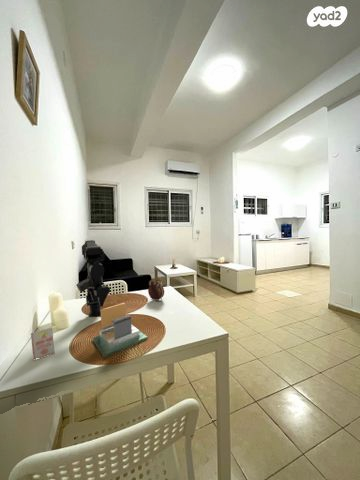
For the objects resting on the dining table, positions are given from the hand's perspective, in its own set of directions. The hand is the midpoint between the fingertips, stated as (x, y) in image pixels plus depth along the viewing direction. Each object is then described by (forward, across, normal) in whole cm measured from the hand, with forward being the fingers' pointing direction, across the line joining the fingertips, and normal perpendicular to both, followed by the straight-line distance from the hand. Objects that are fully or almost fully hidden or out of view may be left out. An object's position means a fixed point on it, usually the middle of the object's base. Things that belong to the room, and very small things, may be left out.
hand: (97, 304), depth 96 cm
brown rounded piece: (+12, -8, +40) cm, 43 cm away
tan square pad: (+7, +13, +2) cm, 15 cm away
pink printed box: (+12, +6, -24) cm, 27 cm away
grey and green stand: (+12, +18, +2) cm, 21 cm away
